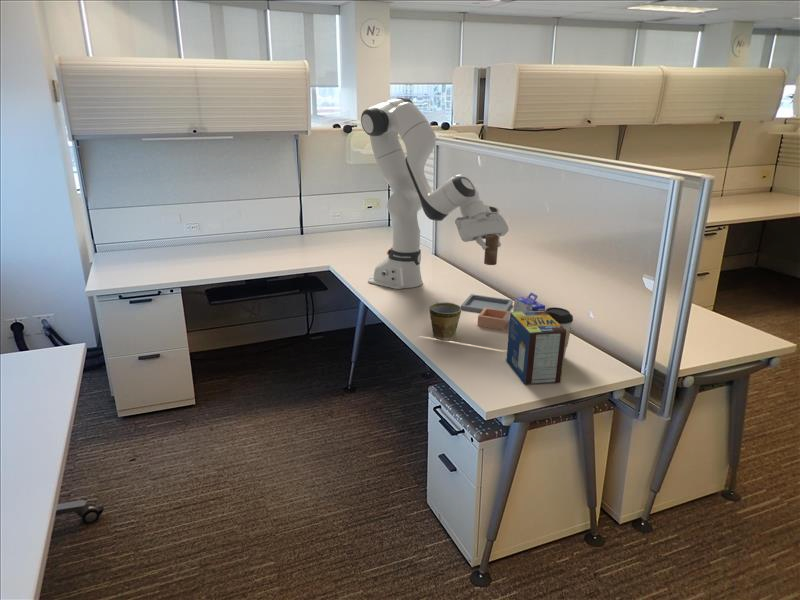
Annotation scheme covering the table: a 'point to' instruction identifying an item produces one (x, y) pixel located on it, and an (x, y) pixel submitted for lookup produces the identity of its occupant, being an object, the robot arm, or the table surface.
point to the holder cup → (494, 318)
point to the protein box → (535, 347)
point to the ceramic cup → (444, 320)
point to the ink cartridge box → (527, 304)
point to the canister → (491, 250)
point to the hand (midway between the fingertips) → (492, 247)
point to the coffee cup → (562, 321)
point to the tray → (485, 303)
